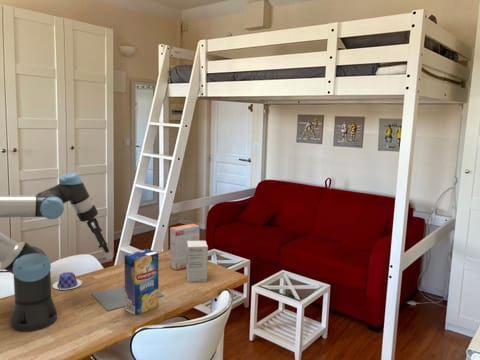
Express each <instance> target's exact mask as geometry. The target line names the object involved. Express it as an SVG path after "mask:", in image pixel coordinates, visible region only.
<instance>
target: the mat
mask: <svg viewBox="0 0 480 360" xmlns="http://www.w3.org/2000/svg"><path fill="white" fill-rule="evenodd" d="M91 296H92V297H93V298H94V299H95V300H96V301H97V302H98V303H99V304H100V305H101V306H102V307H103V308H104V309H105V311H106V312H110V311H114V310H119V309H121V308H125V285H124V286H120V287H116V288H111V289H107V290H104V291H98V292H94V293H91ZM162 297H165V295H164V294H163V293H161V292H160V291H159V290H158V299H159V298H162Z"/></svg>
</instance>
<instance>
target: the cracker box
mask: <svg viewBox="0 0 480 360" xmlns="http://www.w3.org/2000/svg"><path fill="white" fill-rule="evenodd" d="M169 231H170V232H169V234H170V235H169V239H170V241H169V242H170V243H169V245H170V246H169V247H170V249H169V250H170V259H169V260H170V263H169V264H170V268H171V269H173V270H174V271H180V270H184V269H187V241H200V225H198V224H195V223H188V224H184V225H179V226H172V227H169Z"/></svg>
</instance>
